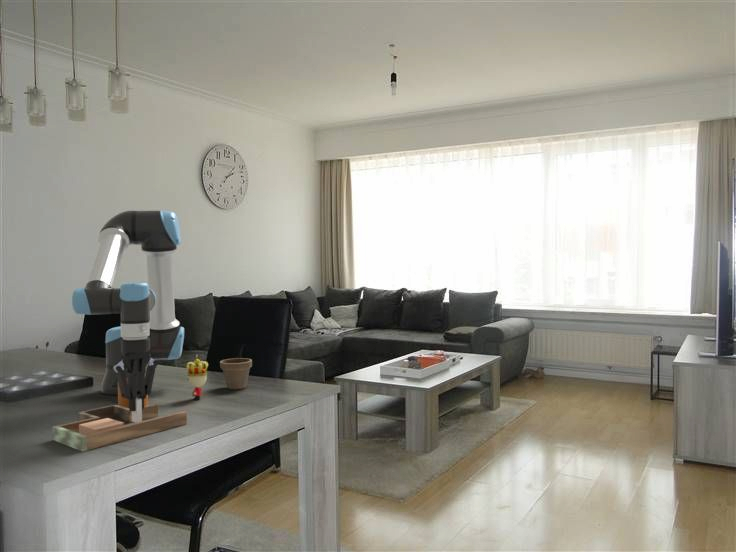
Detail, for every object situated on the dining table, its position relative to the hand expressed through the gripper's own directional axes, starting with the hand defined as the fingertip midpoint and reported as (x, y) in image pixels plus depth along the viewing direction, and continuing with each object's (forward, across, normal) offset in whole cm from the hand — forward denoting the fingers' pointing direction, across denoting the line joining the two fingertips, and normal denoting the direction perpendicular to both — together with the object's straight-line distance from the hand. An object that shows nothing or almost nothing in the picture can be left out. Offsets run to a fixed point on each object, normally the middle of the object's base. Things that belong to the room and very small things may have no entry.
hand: (136, 421), depth 166 cm
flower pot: (+2, +50, +18) cm, 53 cm away
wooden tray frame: (+2, -4, +4) cm, 6 cm away
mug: (+2, +10, +20) cm, 22 cm away
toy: (+2, +31, +15) cm, 35 cm away
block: (+2, -10, 0) cm, 11 cm away
